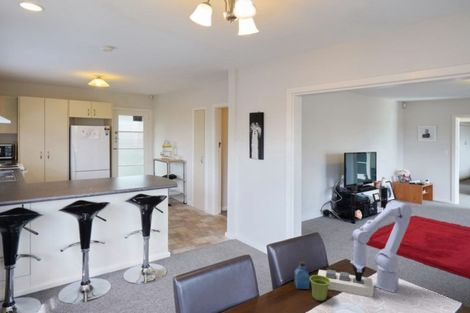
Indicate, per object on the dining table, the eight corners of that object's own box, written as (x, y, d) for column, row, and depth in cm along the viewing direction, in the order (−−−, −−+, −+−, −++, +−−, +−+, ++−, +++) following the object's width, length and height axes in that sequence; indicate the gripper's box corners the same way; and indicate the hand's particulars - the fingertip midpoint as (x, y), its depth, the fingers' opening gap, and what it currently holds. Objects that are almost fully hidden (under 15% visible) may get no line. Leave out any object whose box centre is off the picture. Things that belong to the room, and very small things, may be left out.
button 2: (362, 287, 153) (362, 279, 153) (362, 291, 149) (363, 283, 149) (353, 285, 154) (353, 277, 154) (353, 289, 150) (353, 281, 150)
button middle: (349, 280, 155) (349, 273, 155) (348, 284, 151) (349, 276, 151) (339, 279, 157) (340, 271, 156) (339, 282, 152) (339, 275, 152)
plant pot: (330, 294, 146) (330, 277, 145) (329, 304, 137) (330, 285, 136) (310, 291, 149) (310, 273, 148) (308, 300, 140) (308, 282, 139)
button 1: (335, 278, 157) (335, 270, 157) (335, 282, 153) (335, 274, 153) (326, 276, 159) (327, 269, 159) (326, 280, 155) (326, 272, 155)
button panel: (371, 286, 155) (371, 278, 155) (373, 297, 144) (373, 289, 143) (318, 276, 164) (319, 269, 164) (316, 286, 153) (316, 279, 153)
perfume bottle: (309, 289, 151) (309, 265, 150) (296, 288, 151) (297, 265, 150) (306, 283, 157) (307, 260, 156) (294, 282, 157) (295, 260, 156)
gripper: (350, 247, 159) (349, 273, 160) (350, 257, 145) (349, 285, 146) (365, 249, 156) (364, 275, 157) (366, 260, 143) (365, 288, 143)
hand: (358, 280), depth 151 cm, fingers closed, pressing on button 2
